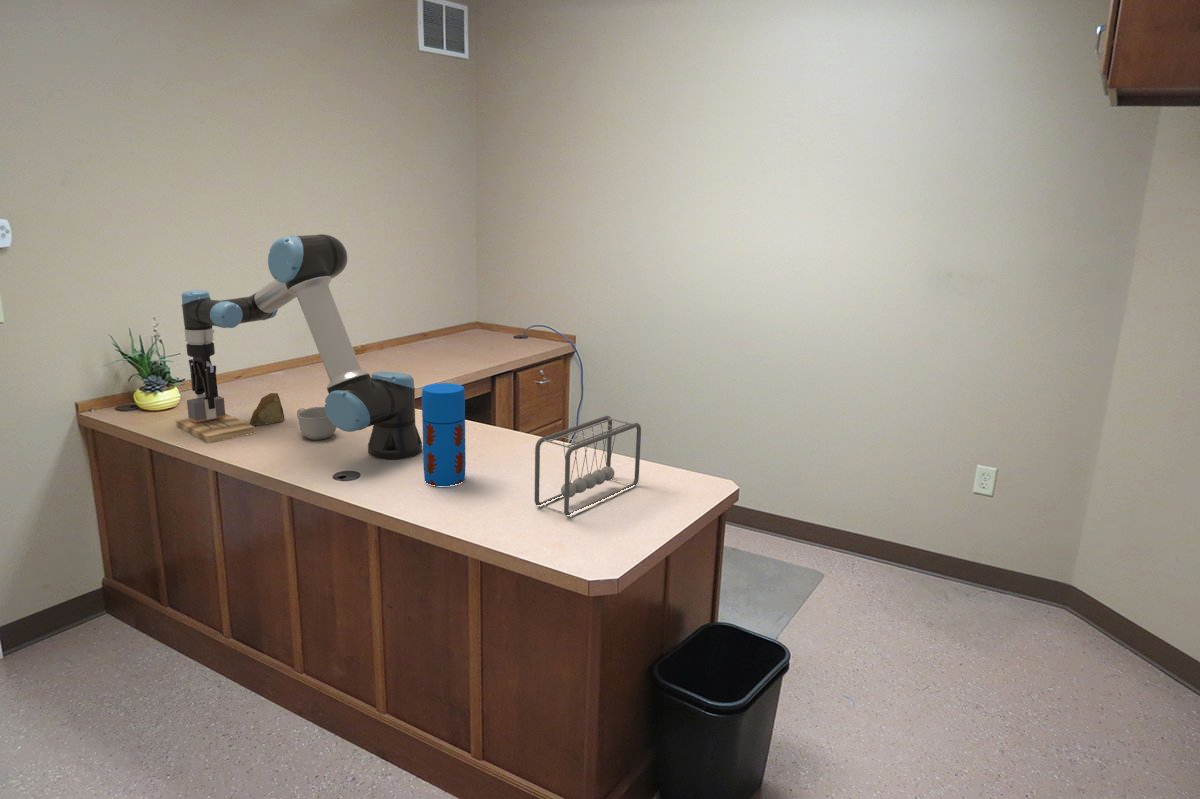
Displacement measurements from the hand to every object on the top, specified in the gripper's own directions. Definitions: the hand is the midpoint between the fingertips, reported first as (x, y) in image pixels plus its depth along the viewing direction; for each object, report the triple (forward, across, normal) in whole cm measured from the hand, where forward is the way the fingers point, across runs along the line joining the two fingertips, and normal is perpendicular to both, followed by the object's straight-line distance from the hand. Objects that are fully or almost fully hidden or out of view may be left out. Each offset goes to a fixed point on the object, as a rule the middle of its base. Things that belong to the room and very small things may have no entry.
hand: (207, 416), depth 252 cm
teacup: (+3, -30, -19) cm, 36 cm away
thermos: (+3, -86, -24) cm, 89 cm away
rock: (+3, -8, -15) cm, 17 cm away
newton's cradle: (+4, -120, -43) cm, 127 cm away
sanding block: (0, 0, 0) cm, 0 cm away
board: (+3, -5, 0) cm, 6 cm away
